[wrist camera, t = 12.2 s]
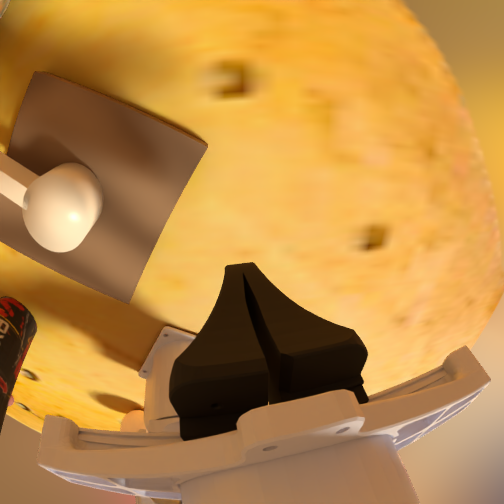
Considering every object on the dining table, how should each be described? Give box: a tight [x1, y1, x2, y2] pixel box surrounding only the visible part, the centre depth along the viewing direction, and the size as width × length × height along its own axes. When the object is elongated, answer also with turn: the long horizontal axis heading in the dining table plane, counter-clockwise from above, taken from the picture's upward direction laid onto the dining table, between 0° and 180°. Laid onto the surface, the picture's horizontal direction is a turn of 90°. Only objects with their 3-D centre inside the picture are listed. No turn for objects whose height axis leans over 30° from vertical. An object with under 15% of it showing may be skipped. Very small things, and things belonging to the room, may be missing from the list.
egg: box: [121, 410, 148, 433], centre depth 30 cm, size 5×5×7 cm
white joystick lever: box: [0, 151, 103, 252], centre depth 13 cm, size 12×5×3 cm, turn 52°
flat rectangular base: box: [0, 71, 208, 304], centre depth 17 cm, size 14×14×2 cm
